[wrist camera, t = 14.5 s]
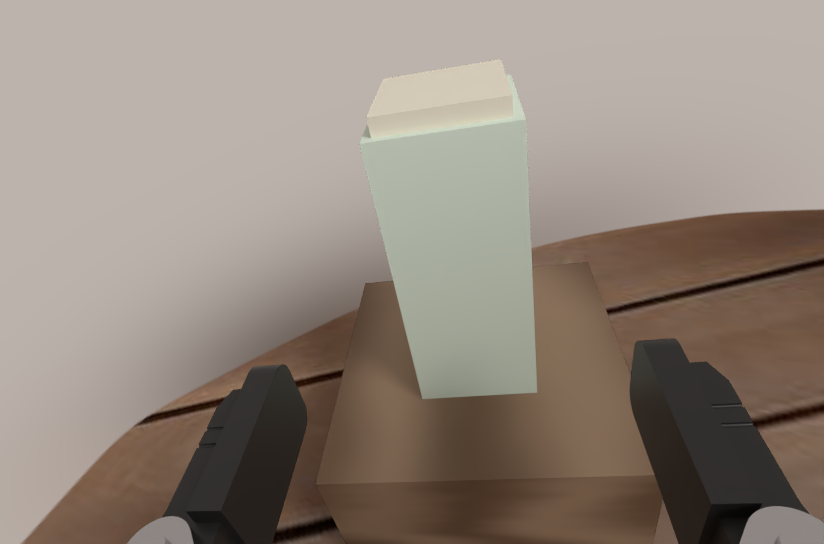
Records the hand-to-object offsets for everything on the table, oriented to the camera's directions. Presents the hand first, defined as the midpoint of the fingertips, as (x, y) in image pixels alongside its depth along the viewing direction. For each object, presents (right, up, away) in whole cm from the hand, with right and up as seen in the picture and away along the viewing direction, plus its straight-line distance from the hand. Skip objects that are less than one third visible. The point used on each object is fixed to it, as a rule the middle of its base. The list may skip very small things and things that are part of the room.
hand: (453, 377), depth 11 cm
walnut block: (+3, -6, +14) cm, 15 cm away
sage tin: (+2, -1, +10) cm, 10 cm away
